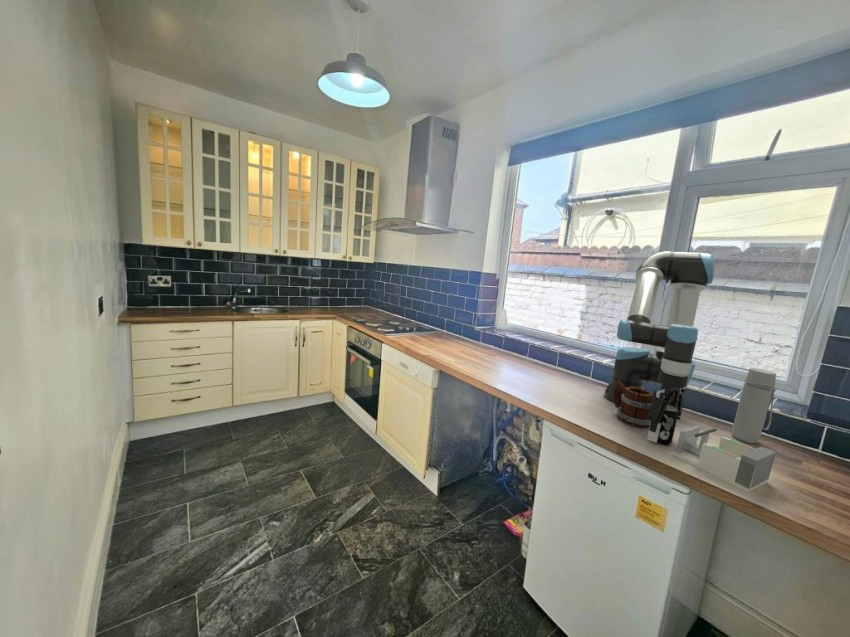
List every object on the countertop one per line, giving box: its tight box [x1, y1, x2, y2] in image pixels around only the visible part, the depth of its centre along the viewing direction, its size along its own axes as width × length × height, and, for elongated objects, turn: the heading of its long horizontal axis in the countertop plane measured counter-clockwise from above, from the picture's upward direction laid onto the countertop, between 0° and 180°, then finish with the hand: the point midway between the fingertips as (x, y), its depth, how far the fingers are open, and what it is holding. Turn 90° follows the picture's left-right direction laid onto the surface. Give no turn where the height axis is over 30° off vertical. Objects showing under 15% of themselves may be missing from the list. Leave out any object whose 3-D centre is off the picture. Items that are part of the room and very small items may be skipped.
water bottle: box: [731, 367, 778, 444], centre depth 116 cm, size 9×8×25 cm
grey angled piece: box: [675, 425, 718, 456], centre depth 102 cm, size 12×7×8 cm, turn 117°
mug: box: [614, 380, 654, 429], centre depth 126 cm, size 12×14×15 cm
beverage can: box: [656, 405, 678, 446], centre depth 111 cm, size 7×7×12 cm
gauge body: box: [672, 436, 777, 493], centre depth 97 cm, size 12×18×9 cm, turn 27°
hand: (659, 438), depth 112 cm, fingers open, 8 cm apart
